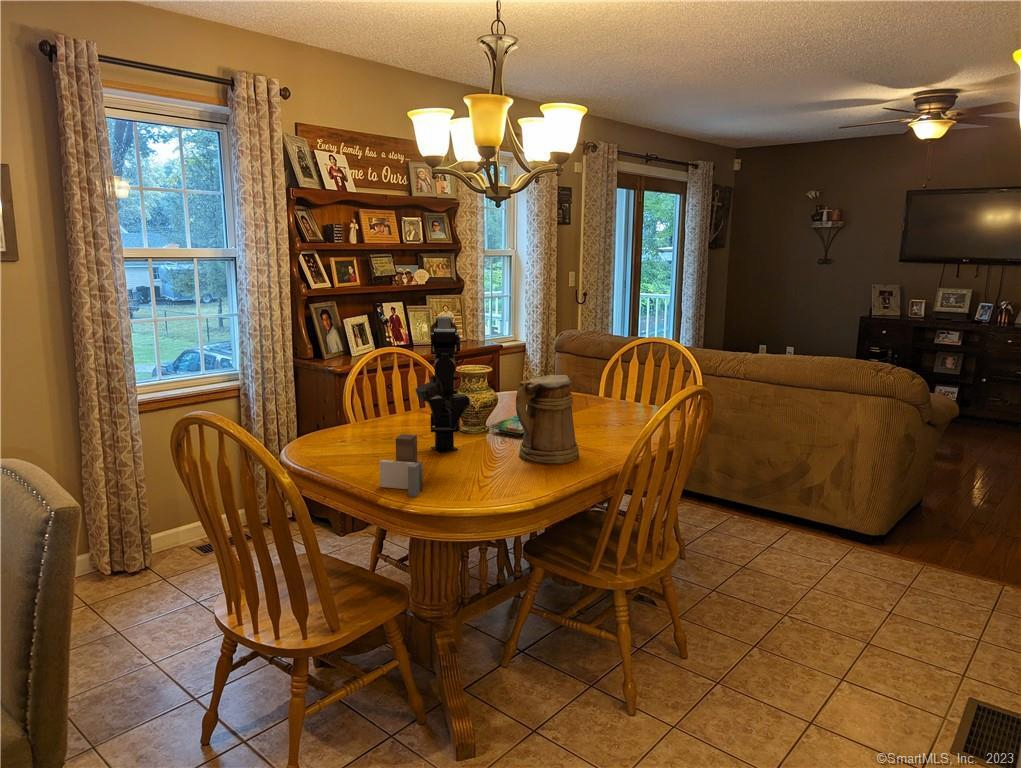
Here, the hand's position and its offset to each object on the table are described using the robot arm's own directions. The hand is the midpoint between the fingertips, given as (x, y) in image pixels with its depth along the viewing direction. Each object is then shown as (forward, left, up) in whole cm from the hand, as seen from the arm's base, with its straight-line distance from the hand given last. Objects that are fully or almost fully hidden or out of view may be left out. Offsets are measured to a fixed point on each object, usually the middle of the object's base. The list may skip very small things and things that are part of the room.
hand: (444, 425), depth 205 cm
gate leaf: (+11, -20, -12) cm, 26 cm away
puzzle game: (-20, +43, -12) cm, 48 cm away
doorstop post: (+8, -16, -12) cm, 22 cm away
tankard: (+10, +29, -12) cm, 33 cm away
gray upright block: (+17, -19, -12) cm, 29 cm away
